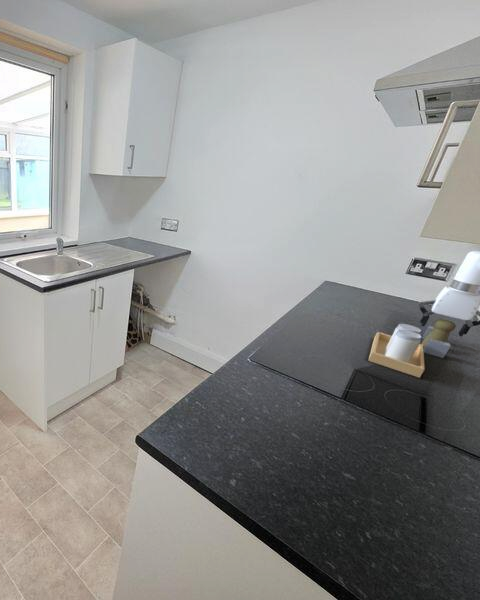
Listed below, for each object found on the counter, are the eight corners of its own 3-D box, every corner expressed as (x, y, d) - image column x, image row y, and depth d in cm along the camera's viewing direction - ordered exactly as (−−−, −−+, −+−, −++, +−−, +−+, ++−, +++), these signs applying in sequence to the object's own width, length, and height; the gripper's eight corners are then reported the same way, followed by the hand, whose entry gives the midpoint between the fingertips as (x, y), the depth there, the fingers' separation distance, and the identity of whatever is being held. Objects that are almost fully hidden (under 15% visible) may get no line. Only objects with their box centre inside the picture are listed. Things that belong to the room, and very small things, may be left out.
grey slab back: (440, 341, 122) (446, 330, 120) (440, 344, 120) (447, 332, 118) (422, 336, 125) (428, 325, 123) (422, 339, 123) (428, 328, 121)
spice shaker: (407, 355, 109) (422, 328, 105) (406, 362, 105) (422, 333, 101) (384, 348, 113) (398, 321, 109) (383, 354, 109) (397, 326, 105)
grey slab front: (442, 355, 112) (449, 343, 110) (443, 358, 110) (450, 346, 108) (423, 349, 115) (429, 338, 113) (423, 352, 113) (430, 340, 111)
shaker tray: (418, 352, 113) (423, 344, 112) (419, 377, 98) (424, 369, 97) (373, 339, 121) (377, 331, 120) (368, 360, 106) (372, 352, 105)
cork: (426, 348, 116) (441, 322, 112) (417, 341, 121) (431, 316, 117) (447, 352, 114) (463, 326, 110) (437, 344, 119) (452, 319, 115)
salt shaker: (406, 362, 105) (422, 334, 101) (406, 369, 101) (422, 340, 97) (383, 355, 109) (397, 327, 104) (382, 361, 105) (396, 333, 101)
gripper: (503, 292, 105) (474, 335, 112) (430, 278, 116) (408, 318, 123) (507, 297, 100) (477, 342, 107) (431, 282, 111) (408, 324, 118)
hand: (440, 329), depth 115 cm, fingers open, 9 cm apart
